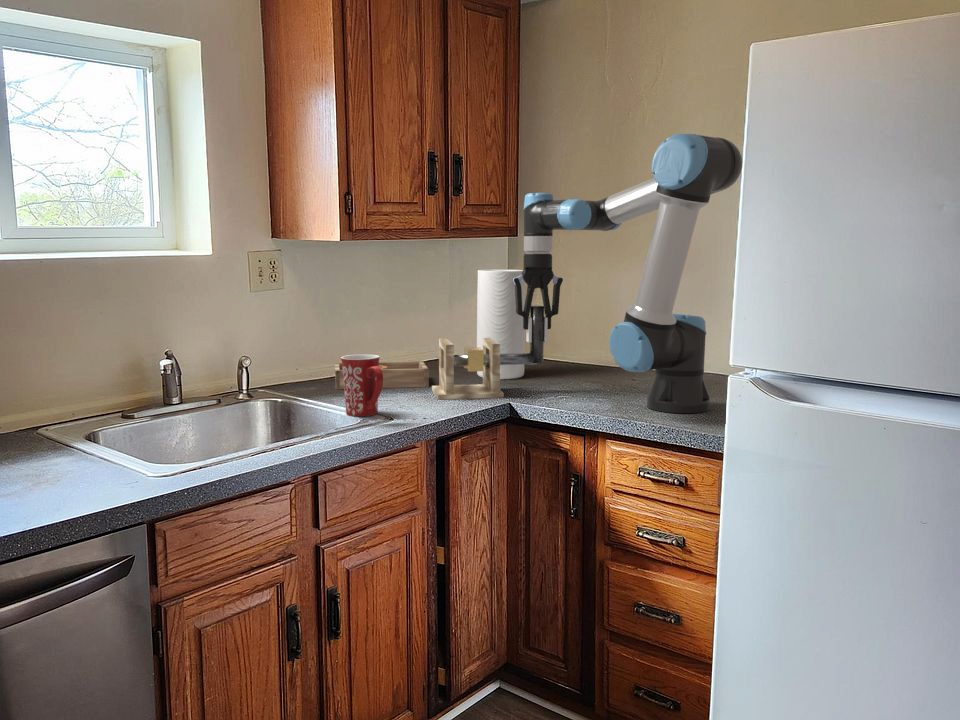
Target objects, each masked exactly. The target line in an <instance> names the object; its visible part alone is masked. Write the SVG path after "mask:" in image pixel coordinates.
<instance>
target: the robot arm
mask: <svg viewBox="0 0 960 720" xmlns="http://www.w3.org/2000/svg"><path fill="white" fill-rule="evenodd" d="M742 169H743V158H742V154H741V151H740V150H739V148H738V147H737V146H736V145H735V144H734V142H732V141H730V140H728V139H726V138H722V137H716V136H715V137H713V136H707V135H701V134H696V133H676V134H673V135H671V136H669V137H667V139H665V140H664V141H662V142H661V143H660V144H659V145H658V147H657V148H656V150H655V152H654V154H653V157H652V161H651V174H652V175H653V178H650V179H648V180H645V181H643V182H640V183H638V184H636V185H634V186H631V187H627V188H626V189H623V190H621V191H619V192H616V193H614V194H611V195H609V196H607V197H604V198H601V199H600V200H586V199H585V200H584V199H580V198H568V199H556V200H554V195H553V193H549V192H529V193H527V194H525V196H524V203H523V252H525V253H524V254H523V269H522V270H523V272H522V275H521V276H519V277H516V278H515V277H514V278H513V279H512V281H513V283H514V286H515V300H516V313H517V314H518V315H521V316H522V317H523V329H525V331H526V337H525V342H527V343H530V342H532V318H531V317H530V309H531V306H532V303H533V297H534V293H535V290H536V289H540V293H541V297H542V306H544V343H548V330H551V328H552V318H553V316H557V315H558V314H559V309H560V297H561V296H560V294H561V293H560V292H561V286H562V284H563V281H564V279H563V278H562V277H559V276H557V275H555V274H554V272H553V255H552V254H551V252H553V231H554V230H555V231H557V230H558V231H566V230H567V231H603V232H608V231H613V230H617V229H618V228H620V226H621V225H622V224H623V223H625V222H628V221H631V220H634V219H636V218H639V217H641V216H644V215H646V214H650V213H651V212H654V211H657V213H656V218H655V223H654V227H653V231H652V234H651V239H650V242H649V243H650V244H649V246H648V252H647V253H646V254H647V255H646V258H645V263H644V266H643V271H642V275H641V279H640V281H639V282H640V283H639V286H638V290H637V295H636V298H635V302H634V304H632V305H630V306H628V307H627V308H626V311H625V315H624V319H623V321H621V322H619V323H618V324H617V325H615V326H614V327H613V328H612V330H611V332H610V334H609V338H608V339H609V340H608V342H609V343H608V344H609V351H610V353H611V356H613V360H614V362H615V363H616V365H618V367H620V368H621V369H623V370H625V371H627V372H630V373H646V372H648V371H654V378H653V380H652V383H651V386H650V388H649V391H648V394H647V396H646V408H648V409H649V410H654V411H656V412H662V413H672V414H697V413H698V414H700V413H705V412H708V411H709V410H710V409H711V400H710V395H709V392H708V389H707V385H706V382H705V378H704V377H705V376H704V375H705V354H706V351H705V350H706V335H707V331H706V320H705V319H704V318H703V317H702V316H699V315H691V314H682V313H681V314H680V313H673V310H674V306H675V301H676V299H677V295H678V290H679V287H680V283H681V280H682V276H683V272H684V269H685V265H686V260H687V257H688V253H689V250H690V246H691V242H692V239H693V235H694V232H695V227H696V224H697V220H698V216H699V213H700V210H701V209H702V208H704V207H705V206H706V205H709V202H710V199H711V195H713V194H715V193H716V194H717V193H719V192H723V191H724V190H727V189H729V188H730V187H731V186H733V185H734V184H735V183H736V182H737V180H738V179H739V178H740V176H741V174H742ZM523 279H524V281H525V284H526V285H527V287H526V293H525V294H526V295H525V305H524V310H523V311H522V290H521V284H522V280H523ZM551 281H552V284H553V288H552V300H551V301H552V302H550V296H549V284H550V283H551Z"/></svg>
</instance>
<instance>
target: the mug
mask: <svg viewBox="0 0 960 720" xmlns="http://www.w3.org/2000/svg"><path fill="white" fill-rule="evenodd" d="M380 358H381V356H380V355H378V354H377V355H376V354H363V353H362V354H347V355H343V356H341V357H340V360H341V363H342V368H343V380H344V389H343V390H344V391H343V393H344V399H345V400H344V403H345V413H346V415H347V416H349V417H351V416H352V417H369V416H370V417H371V416H375V415H377V414H378V410H379V409H378V408H379V407H378V405H379V403H378V401H379V397H380V395H381V392H382V390H383V388H382V386H383V373H382V370H381V369H380V368H379V362H380Z"/></svg>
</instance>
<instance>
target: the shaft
mask: <svg viewBox="0 0 960 720" xmlns="http://www.w3.org/2000/svg"><path fill="white" fill-rule="evenodd" d="M529 317H531V318H532V342H529V352H525V353H511V354H500V365H524V364H525V365H538V364H544V346H545V345H544V343H545V342H544V317H545V311H544V305H531V309H530V314H529ZM484 365H489V354H484ZM464 366H468V355H466V354H464V353H463V354H454V367H464Z"/></svg>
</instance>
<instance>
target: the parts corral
mask: <svg viewBox="0 0 960 720" xmlns="http://www.w3.org/2000/svg"><path fill="white" fill-rule="evenodd" d="M379 365H382V366H387V369H381V370H382V373H383V386H382V389H394V388H397V389H398V388H399V389H400V388H427V387H430V386H429V382H430V381H429V378H430V377H429V367H428V366H427V365H426V363H425V362H424V361H423V360H421V361H419V360H418V361H417V360H415V361H379ZM334 378H335V380H334V381H335V390H344V380H343V368H342V362H335V363H334Z"/></svg>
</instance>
